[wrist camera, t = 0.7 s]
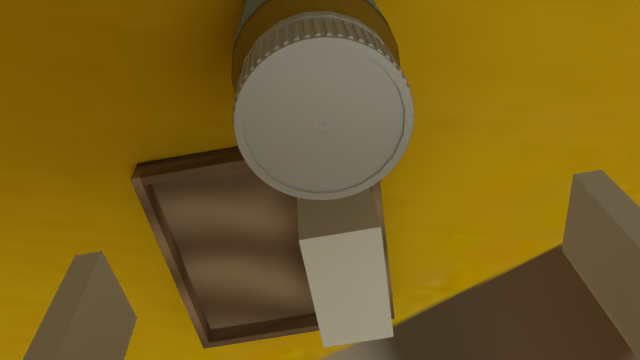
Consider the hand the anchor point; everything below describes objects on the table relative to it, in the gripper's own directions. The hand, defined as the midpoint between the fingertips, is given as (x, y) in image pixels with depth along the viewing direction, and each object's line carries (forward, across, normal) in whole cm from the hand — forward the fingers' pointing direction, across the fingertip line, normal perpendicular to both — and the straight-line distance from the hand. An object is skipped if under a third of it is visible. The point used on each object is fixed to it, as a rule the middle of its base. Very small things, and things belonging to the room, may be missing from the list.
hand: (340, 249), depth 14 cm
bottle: (+19, 0, +2) cm, 20 cm away
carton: (+18, 0, -15) cm, 24 cm away
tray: (+19, -5, -15) cm, 25 cm away
